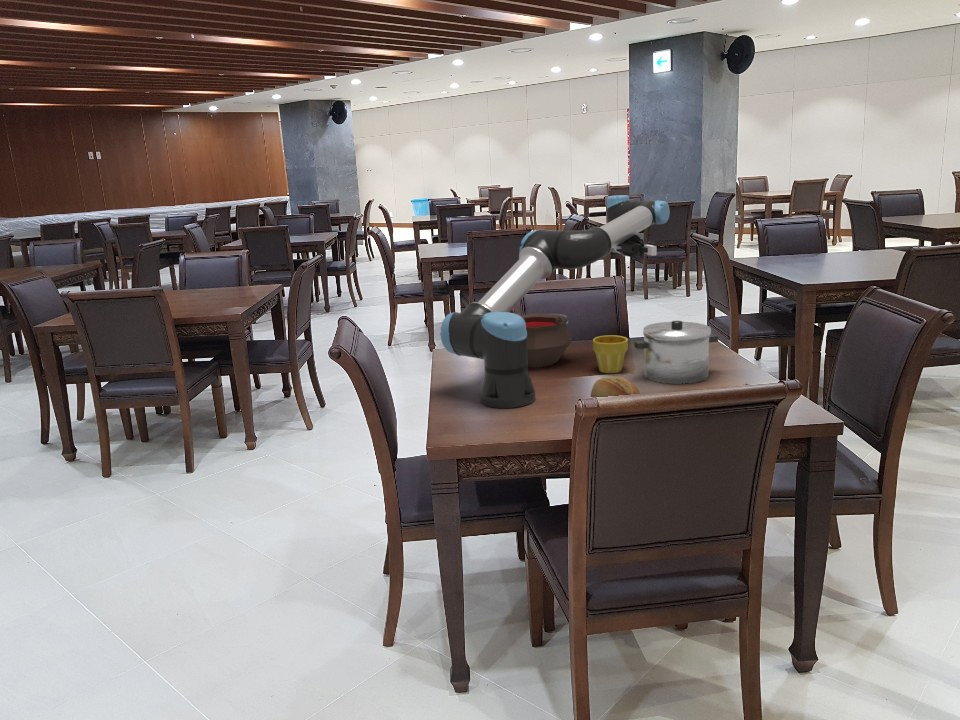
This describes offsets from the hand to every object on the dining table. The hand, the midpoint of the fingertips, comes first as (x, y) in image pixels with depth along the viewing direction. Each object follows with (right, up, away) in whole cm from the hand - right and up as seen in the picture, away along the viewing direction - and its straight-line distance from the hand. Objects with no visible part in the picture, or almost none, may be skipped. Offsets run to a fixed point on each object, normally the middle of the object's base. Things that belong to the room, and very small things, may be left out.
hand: (654, 251), depth 220 cm
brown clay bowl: (-35, -34, +15) cm, 50 cm away
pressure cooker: (+4, -37, -7) cm, 38 cm away
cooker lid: (+4, -25, -12) cm, 28 cm away
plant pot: (-13, -36, 0) cm, 39 cm away
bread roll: (-18, -45, -32) cm, 58 cm away
